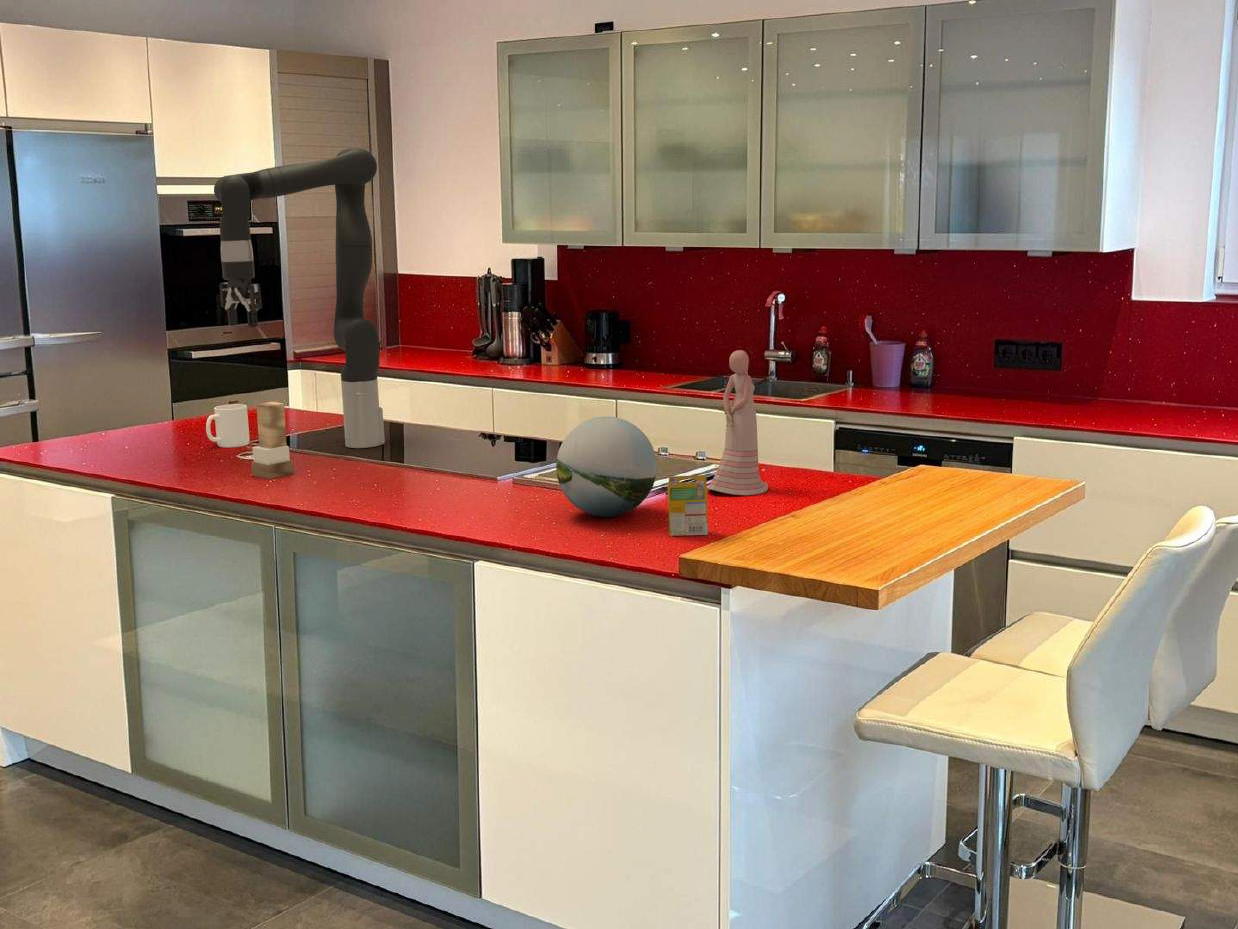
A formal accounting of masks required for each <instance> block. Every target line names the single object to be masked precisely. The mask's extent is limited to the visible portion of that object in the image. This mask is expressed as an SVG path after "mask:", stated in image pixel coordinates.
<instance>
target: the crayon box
mask: <svg viewBox="0 0 1238 929" xmlns="http://www.w3.org/2000/svg"><path fill="white" fill-rule="evenodd" d="M686 479H689V480H695V481H691V482H685V481H684V482H683V481H682V482H681V480H686ZM707 488H708V485H707V474H699V475H698V474H695V475H674V476H672V475H669V476H668V483H667V511H668V512H667V515H668V535H669V537H672V538H673V537H680V536H682V537H683V536H684V537H685V536H708V535H709V525H708V523H709V521H708V519H709V518H708V517H709V516H708V510H709V509H708V489H707Z"/></svg>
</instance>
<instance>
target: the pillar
mask: <svg viewBox="0 0 1238 929" xmlns="http://www.w3.org/2000/svg"><path fill="white" fill-rule="evenodd" d="M256 415H257V416H256V417H257V418H256V419H257V433H258V435H257V436H258V446H261V447H265V448H270V449H271V448H276V447H282V446H288V444H287V431H286V414H285V403H283V402H277V401H270V402H269V401H268V402H262V403H256Z"/></svg>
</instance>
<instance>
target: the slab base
mask: <svg viewBox="0 0 1238 929" xmlns="http://www.w3.org/2000/svg"><path fill="white" fill-rule="evenodd" d="M294 462H295V461H294V460H292V459H290V461H286V462H281V463H276V464H271V465H265V464H261V463H256V462H254V461H251V462H250V465H251V476H252V475H253V477H257V478H261V479H268V480H271V479H277V478H281V477H287V476H291V475H294V474H296V473H295V472H296V471H295V463H294Z"/></svg>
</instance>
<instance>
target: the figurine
mask: <svg viewBox="0 0 1238 929" xmlns="http://www.w3.org/2000/svg"><path fill="white" fill-rule="evenodd" d="M728 360H729V364H728V366H729V368H730V370H731V371H732V372H733V374H732V375H730V376H729V380H728V383H727V385H726V388H725V389H724V394H723V400H722V401H723V405H724V409H723V412H724V415H725V421H726V424H725V436H724V438H725V439H724V449H723V453H722V455H721V458H720V461H719V463H718V466H717V469H716V472H715V474H714V475H713V478H712V479H711V482H710V483H709V485H708V486H707V490H710V491H711V490H712V491H715V492H719V493H723V494H728V495H733V496H756V495H760V494H764V493H766V492H768V490H769V484H768V483H766V482H765V481H763V480H762V479H761V476H760V472H759V448H758V422H757V411H756V405H755V401H754V391H755V385H754V383H753V380H752V377H751V376H750V375H749V373H748V370H749V363H750V359H749V356H748V354H747V352H746V351H745V350H742V349H741V350H735V351H733V352H732V353H731V354H730V356H729V359H728ZM733 388H734V390H735V395H734V399H733V401H732V403H731V405H730V395H731V393H732V391H733Z"/></svg>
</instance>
